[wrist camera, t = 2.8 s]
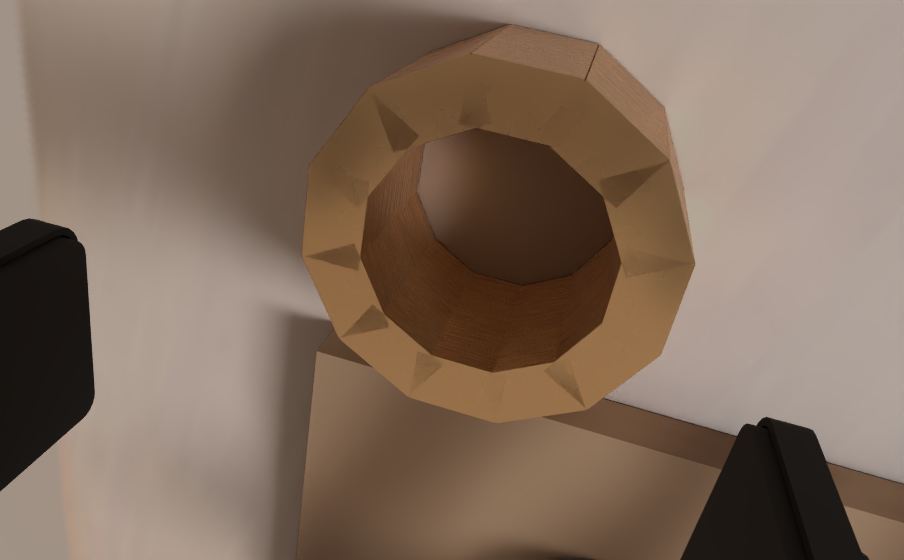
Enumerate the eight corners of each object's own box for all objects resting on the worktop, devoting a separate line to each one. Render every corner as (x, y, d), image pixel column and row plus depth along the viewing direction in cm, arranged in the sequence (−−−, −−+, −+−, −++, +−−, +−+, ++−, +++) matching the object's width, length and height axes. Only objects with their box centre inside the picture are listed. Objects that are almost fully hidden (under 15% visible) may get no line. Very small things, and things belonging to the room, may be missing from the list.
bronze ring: (725, 71, 15) (751, 116, 11) (625, 357, 18) (620, 460, 15) (393, -3, 16) (320, 18, 12) (357, 283, 19) (292, 363, 15)
